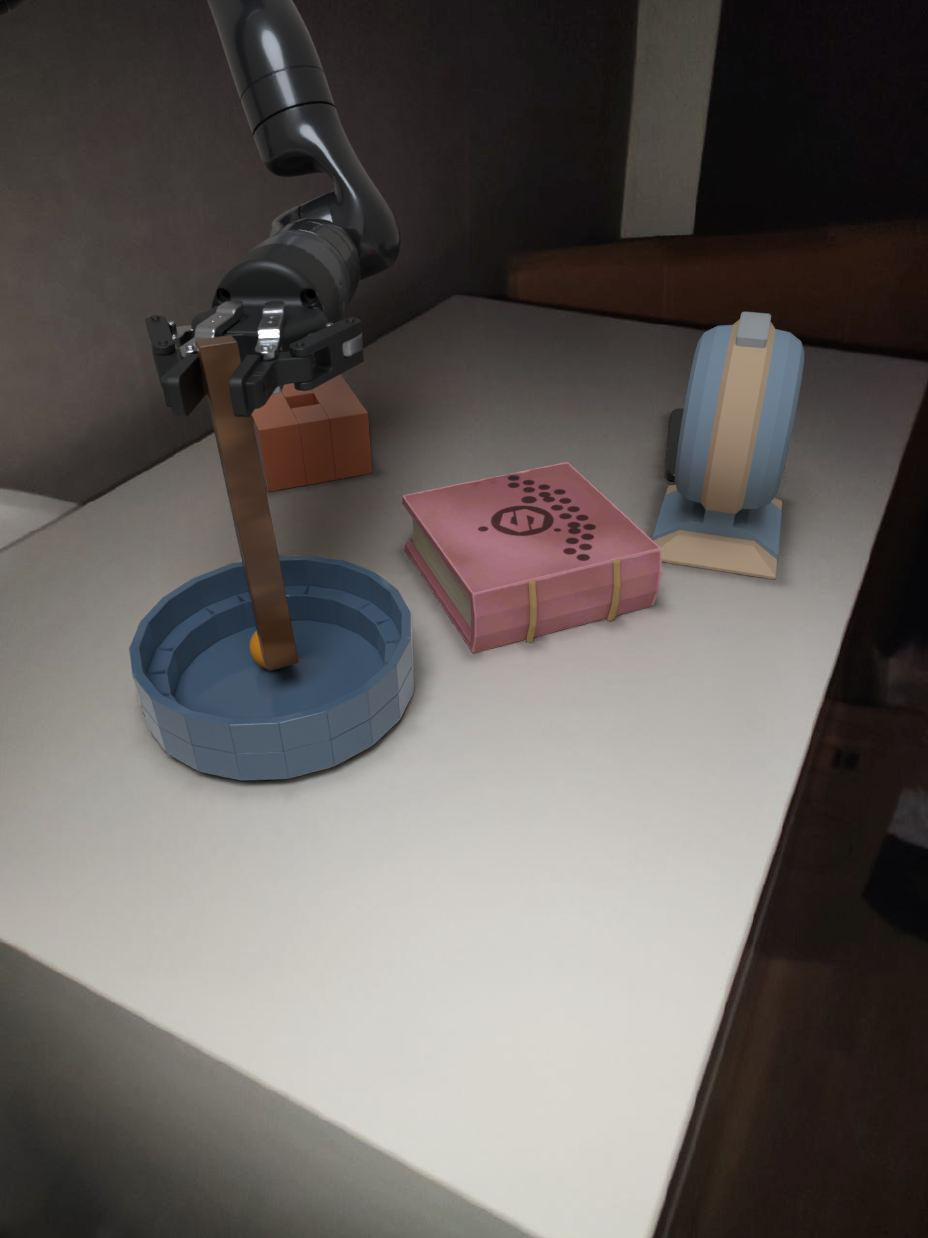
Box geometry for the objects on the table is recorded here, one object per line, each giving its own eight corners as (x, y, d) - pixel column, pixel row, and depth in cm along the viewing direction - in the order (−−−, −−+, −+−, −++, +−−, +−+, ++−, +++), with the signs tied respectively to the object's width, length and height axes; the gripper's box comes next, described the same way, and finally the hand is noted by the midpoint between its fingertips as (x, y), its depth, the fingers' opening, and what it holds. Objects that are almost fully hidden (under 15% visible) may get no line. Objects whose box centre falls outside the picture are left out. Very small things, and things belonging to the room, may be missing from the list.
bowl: (162, 820, 51) (142, 757, 48) (137, 643, 64) (121, 585, 61) (450, 742, 56) (449, 680, 53) (373, 592, 69) (368, 536, 66)
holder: (268, 492, 82) (258, 430, 78) (249, 447, 89) (239, 388, 85) (372, 473, 84) (368, 412, 81) (346, 431, 92) (340, 373, 88)
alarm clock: (669, 482, 82) (697, 282, 72) (781, 497, 80) (828, 292, 69) (645, 566, 71) (674, 344, 61) (774, 586, 69) (828, 359, 58)
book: (477, 660, 62) (477, 601, 59) (404, 549, 74) (401, 495, 71) (659, 612, 66) (668, 554, 63) (564, 514, 78) (567, 461, 75)
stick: (268, 671, 57) (199, 346, 48) (262, 657, 59) (194, 339, 49) (299, 663, 58) (237, 340, 48) (292, 649, 59) (231, 334, 50)
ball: (257, 683, 60) (252, 656, 58) (247, 648, 62) (242, 620, 60) (301, 672, 61) (298, 645, 59) (291, 638, 63) (288, 610, 60)
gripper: (174, 241, 60) (57, 325, 46) (386, 242, 59) (332, 328, 45) (195, 354, 64) (94, 462, 50) (393, 356, 63) (346, 468, 49)
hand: (207, 398), depth 47 cm, fingers closed on stick, 2 cm apart
